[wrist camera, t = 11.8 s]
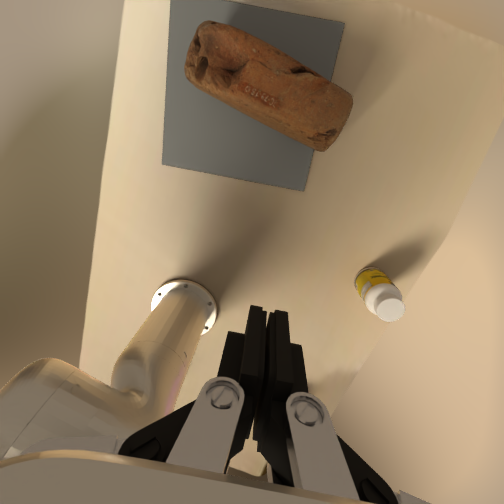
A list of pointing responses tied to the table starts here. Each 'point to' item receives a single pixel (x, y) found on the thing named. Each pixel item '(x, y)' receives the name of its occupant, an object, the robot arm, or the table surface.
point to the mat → (227, 118)
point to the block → (266, 84)
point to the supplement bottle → (379, 294)
